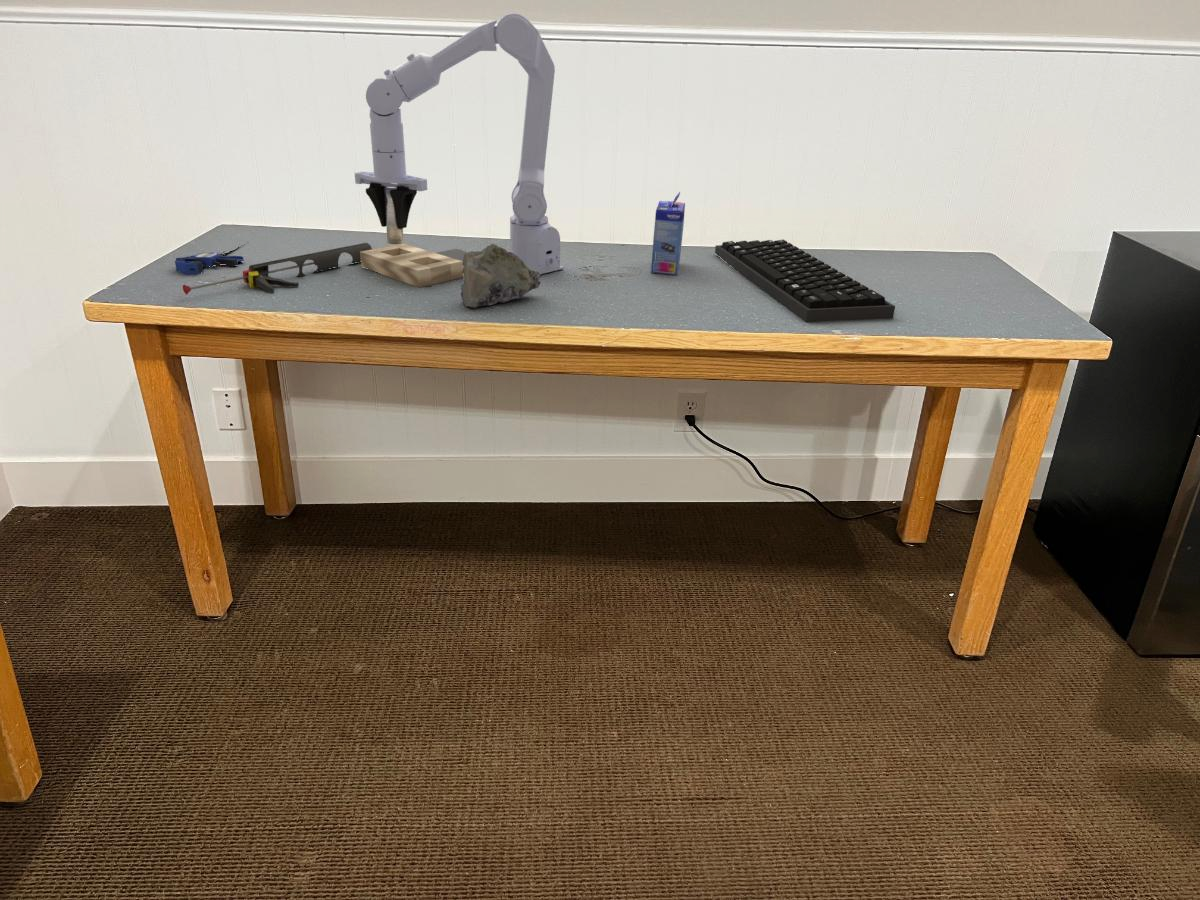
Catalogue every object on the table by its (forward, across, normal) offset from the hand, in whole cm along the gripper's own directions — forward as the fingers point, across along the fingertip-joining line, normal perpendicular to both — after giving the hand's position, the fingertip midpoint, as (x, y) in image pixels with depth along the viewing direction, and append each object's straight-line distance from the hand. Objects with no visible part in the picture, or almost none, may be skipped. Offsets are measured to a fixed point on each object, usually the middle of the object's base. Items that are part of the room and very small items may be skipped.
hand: (394, 226), depth 162 cm
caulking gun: (+8, +11, +16) cm, 21 cm away
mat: (+8, -5, -11) cm, 14 cm away
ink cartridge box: (+8, -45, -26) cm, 53 cm away
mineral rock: (+8, -28, +10) cm, 31 cm away
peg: (+3, 0, 0) cm, 3 cm away
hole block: (+8, -4, +2) cm, 9 cm away
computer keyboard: (+8, -70, -28) cm, 76 cm away
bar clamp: (+8, +34, +7) cm, 36 cm away
